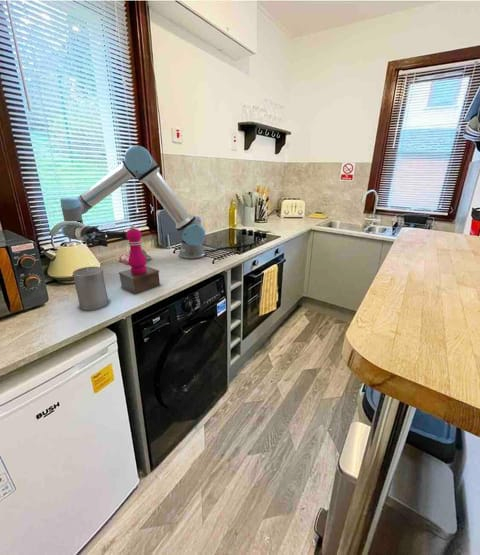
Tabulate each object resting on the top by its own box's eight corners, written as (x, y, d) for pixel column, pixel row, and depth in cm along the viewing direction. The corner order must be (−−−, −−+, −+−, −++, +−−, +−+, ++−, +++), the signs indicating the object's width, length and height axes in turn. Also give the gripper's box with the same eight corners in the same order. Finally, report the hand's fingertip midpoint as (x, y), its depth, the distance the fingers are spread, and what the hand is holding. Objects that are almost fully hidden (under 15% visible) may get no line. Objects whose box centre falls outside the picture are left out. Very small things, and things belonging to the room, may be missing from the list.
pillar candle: (87, 299, 108) (79, 263, 102) (112, 298, 108) (106, 262, 103) (75, 311, 99) (65, 272, 93) (102, 310, 99) (95, 271, 94)
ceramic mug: (135, 263, 148) (134, 250, 145) (129, 260, 154) (127, 247, 151) (153, 260, 155) (152, 247, 152) (147, 257, 161) (146, 244, 158)
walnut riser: (146, 279, 128) (144, 265, 125) (160, 285, 121) (159, 270, 119) (121, 287, 119) (118, 272, 116) (135, 294, 112) (133, 278, 110)
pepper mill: (126, 273, 115) (118, 226, 108) (137, 267, 122) (131, 222, 114) (140, 275, 113) (133, 227, 106) (151, 269, 119) (145, 224, 112)
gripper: (112, 237, 138) (143, 243, 129) (62, 247, 118) (95, 255, 108) (110, 222, 136) (141, 227, 127) (59, 230, 115) (92, 236, 106)
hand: (120, 240), depth 118 cm, fingers open, 13 cm apart
